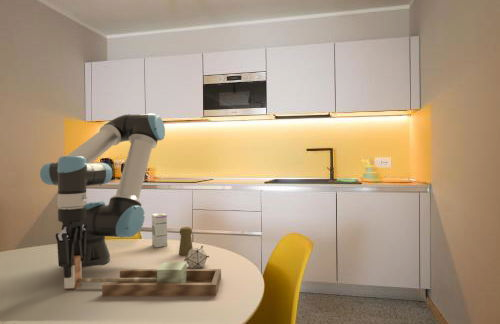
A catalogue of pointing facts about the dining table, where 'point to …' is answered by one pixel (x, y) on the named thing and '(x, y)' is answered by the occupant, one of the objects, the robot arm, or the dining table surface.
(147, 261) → the dining table surface
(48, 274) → the dining table surface
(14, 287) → the dining table surface
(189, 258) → the game die
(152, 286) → the tray
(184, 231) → the cork
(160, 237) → the syrup box
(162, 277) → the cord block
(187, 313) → the dining table surface
